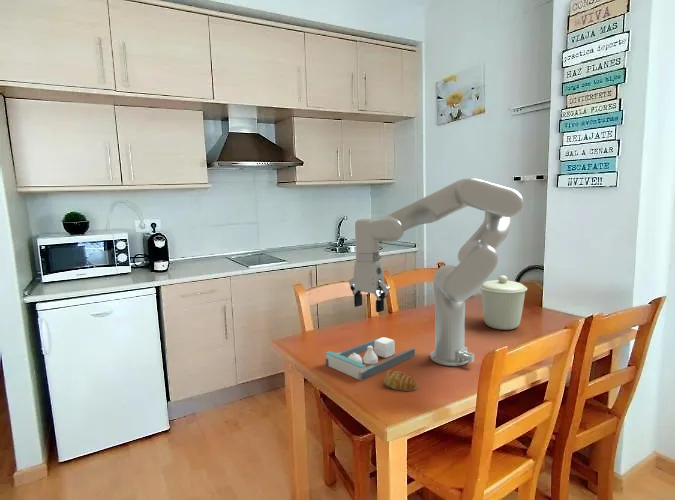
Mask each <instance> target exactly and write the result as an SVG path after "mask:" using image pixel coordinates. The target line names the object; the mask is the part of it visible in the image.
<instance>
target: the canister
mask: <svg viewBox="0 0 675 500" xmlns="http://www.w3.org/2000/svg"><path fill="white" fill-rule="evenodd" d="M478 289H480V295H481V307H482V315H483V320H484V323H485V324H486V325H487V326H488V327H490V328H493V329H496V330H507V331H508V330H514V329H516V328H518V327H519V326H520V324H521V319H522V315H523V310H524V309H523V308H524V302H525V297H526V296H525V295H526V292H527V290H528V287H527V286H525V285H524V284H523V283H520V282H518V281H513V280H509V278H508V276H506V275H499V276H498V277H497V279H494V280H486V281H485V282H484V283H483V284H482V285H481V286H480V287H479V288H478Z"/></svg>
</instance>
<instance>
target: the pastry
mask: <svg viewBox="0 0 675 500" xmlns="http://www.w3.org/2000/svg"><path fill="white" fill-rule="evenodd" d="M383 382H384V385H385V386H386V387H387V388H391V389H393V390H397V391H402V392H403V391H404V392H409V391H415V390H416V389H417V388H418V384H419V383H418V381H417V380H415V378H414V377H413V376H412V377H411V376H410V375H409V374H406V373H404V372H401V371H398V370H397V371H393V370H389V371H387V373H386V375H385V377H384V381H383Z"/></svg>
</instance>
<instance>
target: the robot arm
mask: <svg viewBox="0 0 675 500" xmlns="http://www.w3.org/2000/svg"><path fill="white" fill-rule="evenodd" d="M466 207H471V208H474V209H476V210H480V211H483V212H484V218H483V222H482V223H481V225H480V226H479V227H478V228H477V230H476V231H475V232H474V233H473V234H472V235H471V236H470V237H469V238H468V240H466V242H465V243H464V244H463V245H462V246H461V247H460V248H459V251H458V252H457V259H458V262H459V263H458V264H457V266H456V265H453V264H445V265H442V266H440V267H439V268H438V269H437V270H436V272H435V273H434V276H433V291H434V350H432V351H430V354H429V355H430V359H431V361H432V362H434V363H436V364H439V365H442V366H449V367H458V366H459V367H460V366H464V365H467V364H468V363H469V362H470V363H474V362H475V356H476V355H475V353H473V352H469V351H468V346H465V344H466V343H465V337H466V336H465V335H466V333H465V332H466V331H465V330H466V327H465V326H466V325H465V324H466V319H465V318H466V300H467V299H469V298H470V297H472V296H473V295H474V294H475V293H476V292H477V291H478V289H480V288H479V287H480V286H481V285H482V284H483V283H484V282H486V281H488V279H489V278H490V277H491V276H492V274H494V271H496V269H497V267H498V265H499V264H498V263H499V254H498V253H497V249H498V248H499V247H500V246H501V245H502V244H503V243H504V241H505V240H506V238H507V237H508V235H509V233H510V230H511V225H512V222H511V221H512V217H516V216H517V215H518V214H519V213H520V212H521V211H522V210H523V207H524V198H523V196H522V194H521V193H520V192H519V191H518V190H516V189H513V188H510V187H506V186H503V185H501V184H496V183H492V182H489V181H485V180H483V179H479V178H475V177H471V178H462V179H459V180H457V181H455V182H452V183H451V184H448V185H447V186H445V187H442V188H441V189H439V190H437V191H434V192H433V193H430V194H428V195H427V196H424V197H422V198H420V199H418V200H416V201H415V202H412V203H411V204H408V205H406V206H403V207H401V208H400V209H397V210H396V211H393V212H391V213H389V214H387V215H386V216H384V217H382V218H381V219H378V220H377V219H375V218H362V219H361V218H360V219H358V220H356V221H355V223H354V234H355V235H354V236H355V261H354V267H353V269H354V270H353V278H352V279H350V280H348V285H349V288H350V290H351V291H352V295H353V300H354V303H353V304H354V307H355V308H357V307H361V306H362V305H363V294H362V293H361V292H363V293H367V294H373V295H374V296H375V298H376V300H375V312H376V313H381V312H383V311H384V310H385V299H386V297H387V296H388V294H389V292H390V290H391V288H390V286H389V285H387V284H386V283H385V274H384V267H383V262H382V261H380V260H381V259H382V258H381V257H382V256H381V254H380V242H384V243H385V242H387V243H395V242H398V241H399V240H400V239H402V237H403V235H404V232H405V231H408V230H411V229H413V228H416V227H417V226H421V225H426V224H432V223H434V222H439V221H440V220H442V219H444V218H447V217H448V216H450V215H452V214H454V213H456V212H458V211H460V210H462V209H464V208H466Z"/></svg>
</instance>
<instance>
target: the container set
mask: <svg viewBox="0 0 675 500" xmlns="http://www.w3.org/2000/svg"><path fill="white" fill-rule="evenodd" d="M379 338H380V339H377V340H375V342H374V348H373V347H372V346H368V347H367V351H365V353H364V354H363V356H361V355H360V354H356V353H353V354H351V355H350V356H349V357H348V358H349V359H352V360H354V361H357V362H359V363H361V364H364V365H375V364H377V363H379V362H378V361H379V357H381V358H384V359H388V358H390V357H393V356H395V352H396V349H395V348H396V347H395V346H396V345H395V344H396V343H395V340H394V339H392V338H389V337H386V336H385V337H384V336H383V337H379Z"/></svg>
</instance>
